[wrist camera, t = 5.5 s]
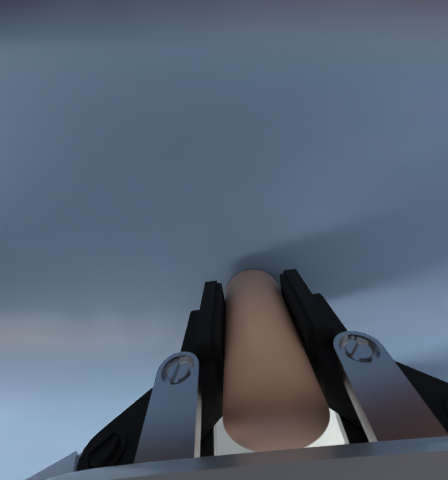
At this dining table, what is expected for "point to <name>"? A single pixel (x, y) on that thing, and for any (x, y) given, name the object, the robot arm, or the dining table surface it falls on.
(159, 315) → the dining table surface
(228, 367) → the sliding handle
